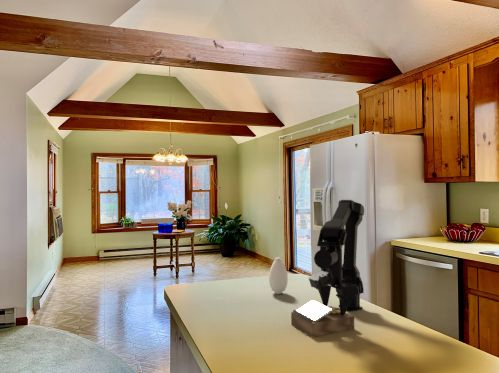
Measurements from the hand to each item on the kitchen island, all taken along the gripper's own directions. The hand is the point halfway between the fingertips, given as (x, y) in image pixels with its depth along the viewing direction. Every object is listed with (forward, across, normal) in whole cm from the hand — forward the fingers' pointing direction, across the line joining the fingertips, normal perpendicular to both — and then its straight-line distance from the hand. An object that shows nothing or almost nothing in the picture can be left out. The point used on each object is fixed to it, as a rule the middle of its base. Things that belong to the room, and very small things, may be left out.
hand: (333, 310), depth 124 cm
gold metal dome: (+4, 0, 0) cm, 4 cm away
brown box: (+4, 0, -4) cm, 6 cm away
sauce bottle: (+5, -41, +1) cm, 41 cm away
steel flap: (-1, 0, -8) cm, 8 cm away
